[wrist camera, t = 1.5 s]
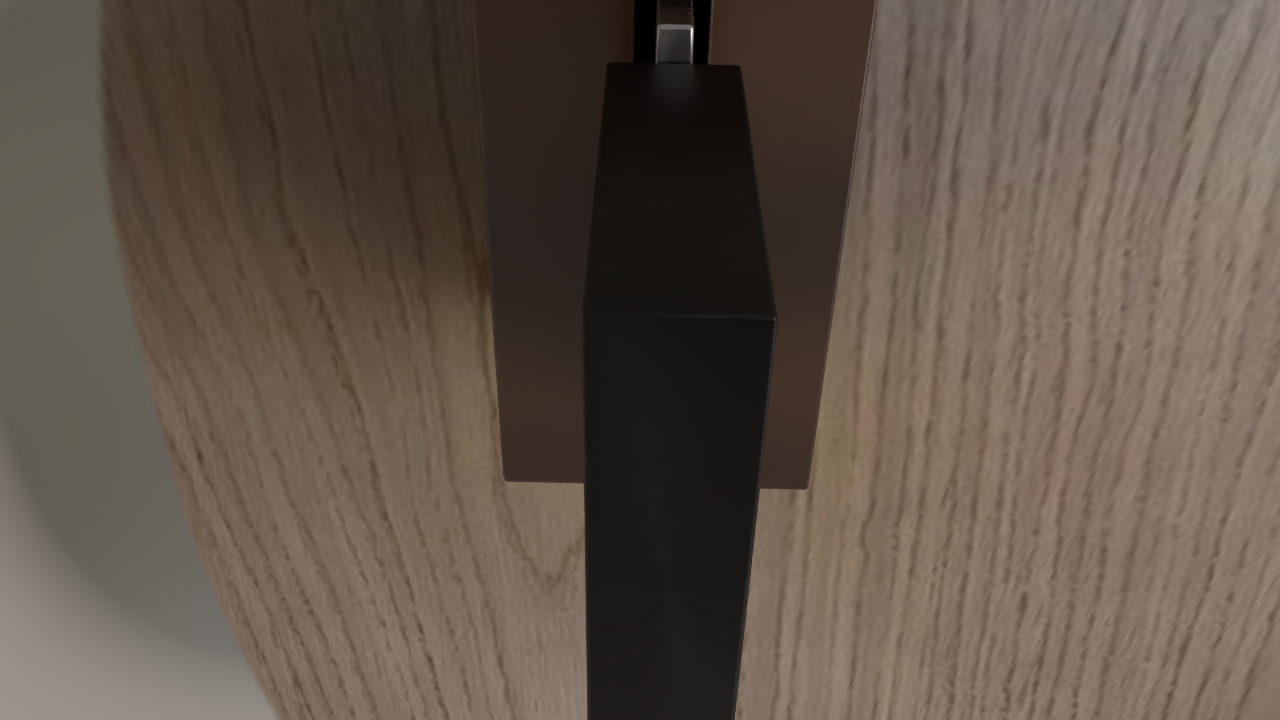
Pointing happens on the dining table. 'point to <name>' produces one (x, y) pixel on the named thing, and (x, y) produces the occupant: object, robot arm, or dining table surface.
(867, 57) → the knife block
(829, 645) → the dining table surface
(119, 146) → the dining table surface
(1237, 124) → the dining table surface
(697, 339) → the black and grey slab
